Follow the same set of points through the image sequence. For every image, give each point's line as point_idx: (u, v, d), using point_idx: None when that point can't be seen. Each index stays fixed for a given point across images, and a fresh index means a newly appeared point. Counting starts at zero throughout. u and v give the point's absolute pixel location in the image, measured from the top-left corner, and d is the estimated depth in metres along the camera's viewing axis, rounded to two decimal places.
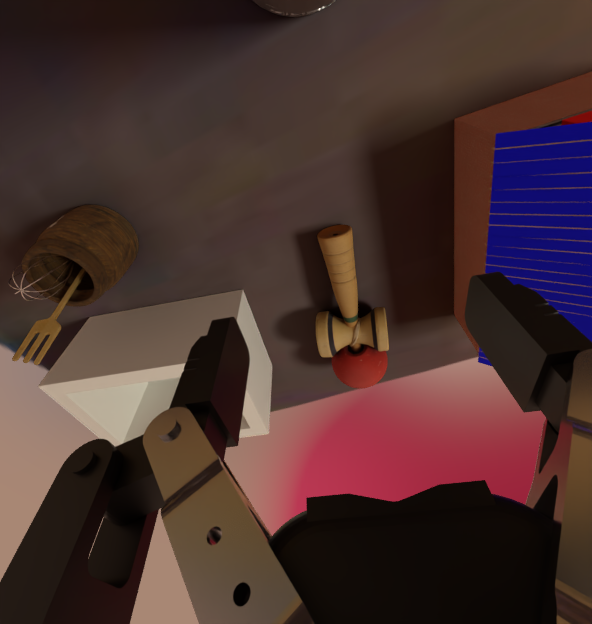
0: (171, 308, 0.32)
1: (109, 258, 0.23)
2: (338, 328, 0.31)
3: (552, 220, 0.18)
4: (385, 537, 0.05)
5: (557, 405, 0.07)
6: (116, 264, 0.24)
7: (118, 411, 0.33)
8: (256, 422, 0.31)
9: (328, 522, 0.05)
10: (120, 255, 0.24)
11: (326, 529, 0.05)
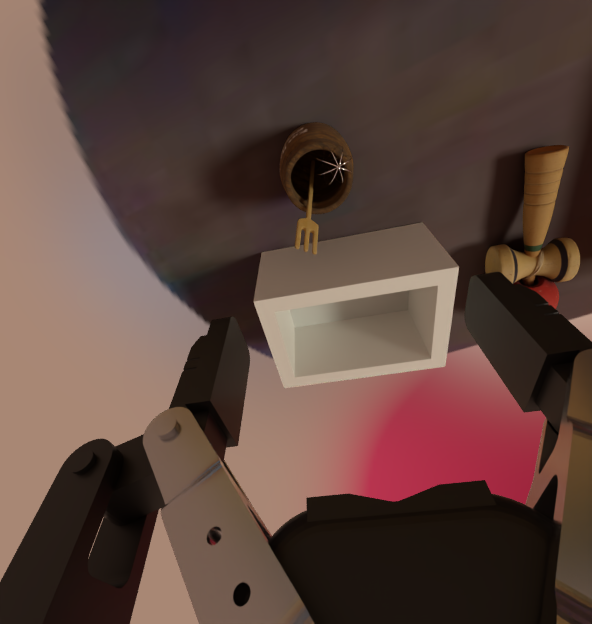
0: (352, 240, 0.32)
1: (352, 166, 0.24)
2: (521, 258, 0.31)
3: None
4: (385, 537, 0.05)
5: (557, 405, 0.07)
6: None
7: (290, 345, 0.33)
8: (440, 351, 0.31)
9: (328, 522, 0.05)
10: None
11: (326, 529, 0.05)
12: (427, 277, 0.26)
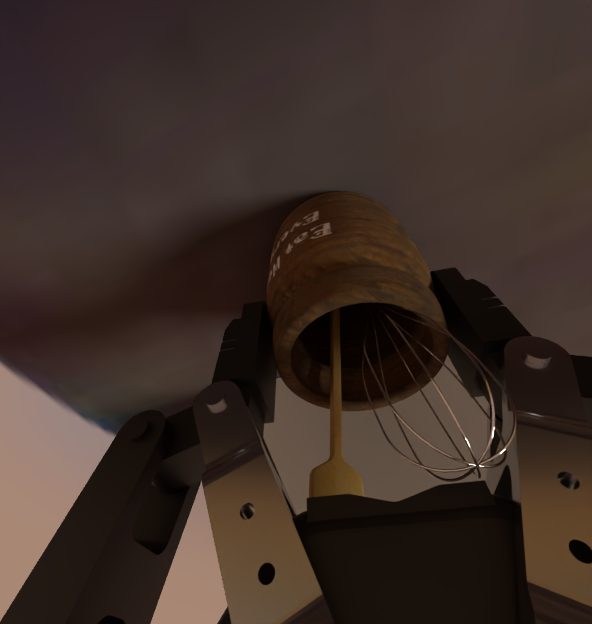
0: None
1: None
2: None
3: None
4: (385, 537, 0.05)
5: (493, 389, 0.08)
6: None
7: None
8: None
9: (328, 522, 0.05)
10: None
11: (326, 529, 0.05)
12: None
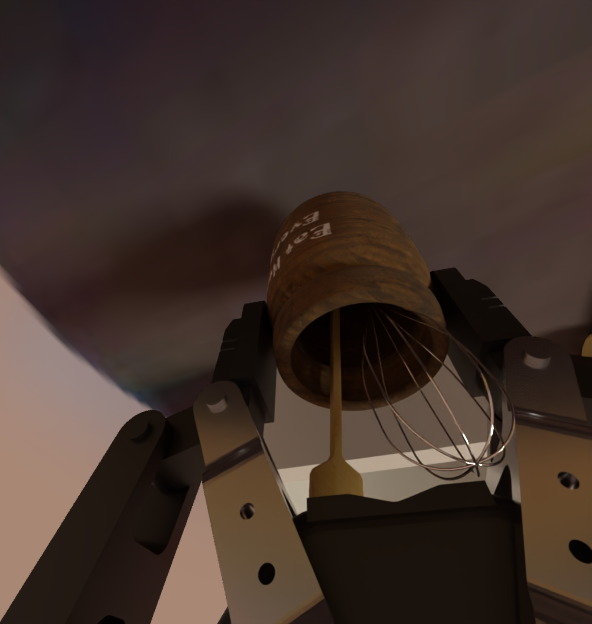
0: None
1: None
2: None
3: None
4: (385, 537, 0.05)
5: (494, 389, 0.08)
6: None
7: (304, 490, 0.23)
8: None
9: (328, 522, 0.05)
10: None
11: (326, 529, 0.05)
12: None
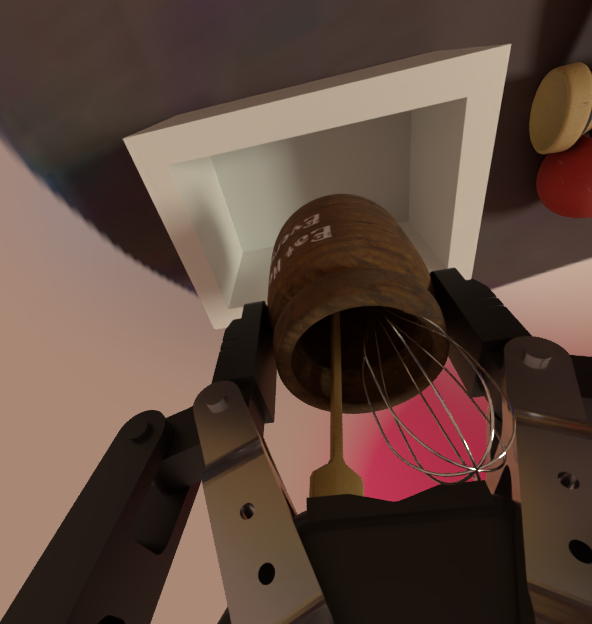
0: (317, 81, 0.20)
1: None
2: None
3: None
4: (385, 537, 0.05)
5: (494, 389, 0.08)
6: None
7: (221, 258, 0.21)
8: (464, 256, 0.19)
9: (328, 522, 0.05)
10: None
11: (326, 529, 0.05)
12: (447, 74, 0.13)
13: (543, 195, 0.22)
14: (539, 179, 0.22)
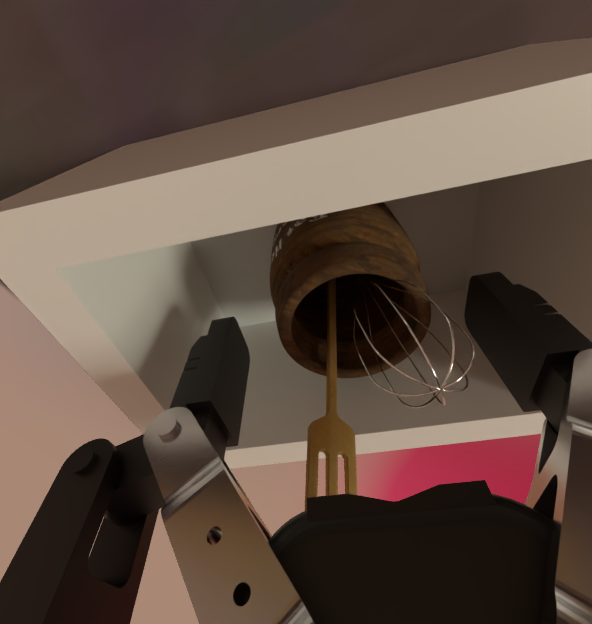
0: (340, 93, 0.12)
1: None
2: None
3: None
4: (385, 537, 0.05)
5: (557, 405, 0.07)
6: None
7: None
8: None
9: (328, 522, 0.05)
10: None
11: (326, 529, 0.05)
12: None
13: None
14: None
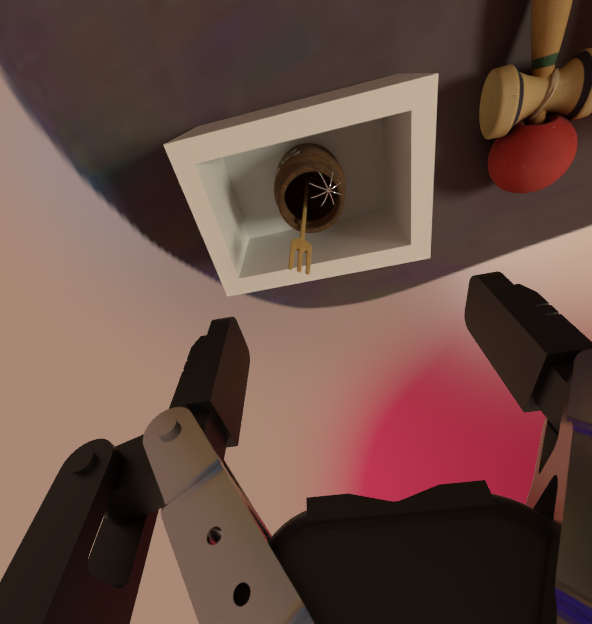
0: (307, 98, 0.25)
1: (344, 186, 0.24)
2: (528, 77, 0.23)
3: None
4: (385, 537, 0.05)
5: (557, 405, 0.07)
6: (345, 194, 0.25)
7: (232, 239, 0.26)
8: (422, 232, 0.24)
9: (328, 522, 0.05)
10: None
11: (326, 529, 0.05)
12: (395, 94, 0.18)
13: (492, 174, 0.27)
14: (488, 161, 0.27)
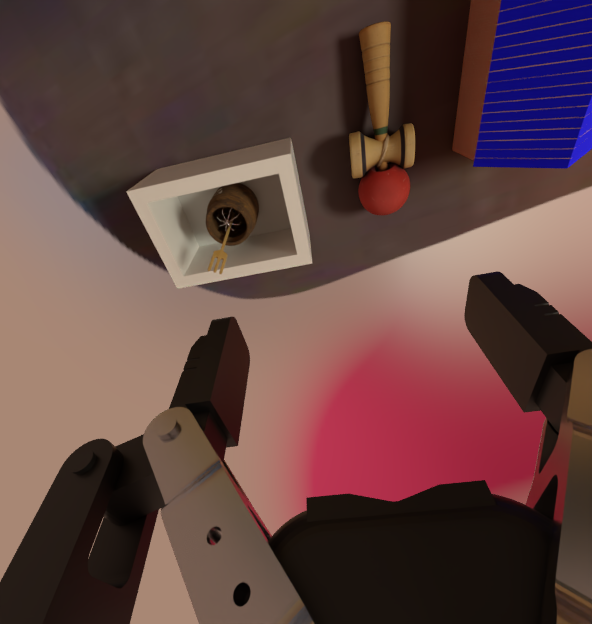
0: (229, 153, 0.37)
1: (253, 214, 0.36)
2: (369, 141, 0.34)
3: None
4: (385, 537, 0.05)
5: (557, 405, 0.07)
6: (255, 219, 0.37)
7: (180, 248, 0.38)
8: (303, 246, 0.36)
9: (328, 522, 0.05)
10: (256, 214, 0.37)
11: (326, 529, 0.05)
12: (267, 164, 0.30)
13: None
14: (358, 192, 0.39)
